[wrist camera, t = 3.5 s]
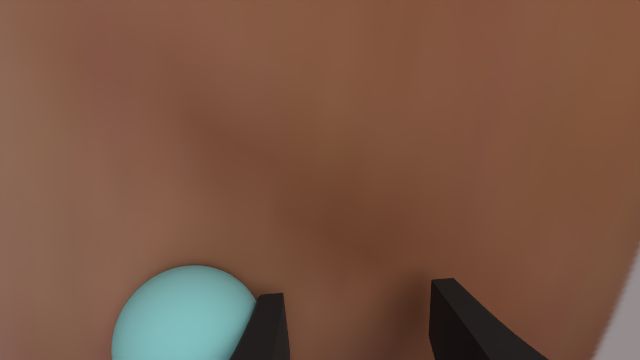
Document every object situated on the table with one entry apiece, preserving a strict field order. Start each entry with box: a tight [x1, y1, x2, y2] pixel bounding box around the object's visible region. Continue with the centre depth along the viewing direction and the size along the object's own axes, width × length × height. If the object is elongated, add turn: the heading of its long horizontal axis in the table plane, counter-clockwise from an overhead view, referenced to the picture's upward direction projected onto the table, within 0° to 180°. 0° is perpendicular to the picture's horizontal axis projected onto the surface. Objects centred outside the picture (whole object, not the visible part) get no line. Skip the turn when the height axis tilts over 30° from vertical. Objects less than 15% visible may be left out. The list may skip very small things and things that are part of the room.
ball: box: [111, 265, 257, 360], centre depth 13 cm, size 4×4×4 cm
